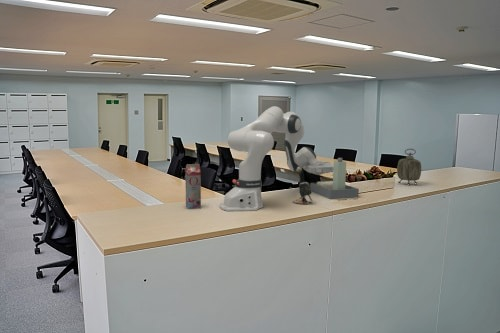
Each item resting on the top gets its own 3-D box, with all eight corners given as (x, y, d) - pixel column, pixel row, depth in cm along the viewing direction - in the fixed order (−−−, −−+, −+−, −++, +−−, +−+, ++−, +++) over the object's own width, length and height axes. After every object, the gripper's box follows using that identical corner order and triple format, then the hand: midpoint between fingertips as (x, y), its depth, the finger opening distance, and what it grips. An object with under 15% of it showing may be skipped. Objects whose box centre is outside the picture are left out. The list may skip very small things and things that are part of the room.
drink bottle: (337, 197, 221) (338, 158, 218) (332, 195, 225) (333, 157, 222) (344, 196, 222) (346, 158, 219) (340, 195, 227) (341, 157, 224)
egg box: (322, 194, 229) (322, 183, 229) (316, 191, 237) (316, 181, 236) (340, 192, 233) (340, 183, 232) (333, 190, 241) (333, 180, 240)
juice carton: (200, 208, 195) (200, 164, 192) (187, 209, 193) (187, 165, 190) (198, 205, 201) (198, 163, 199) (185, 206, 200) (185, 163, 197)
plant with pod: (304, 206, 202) (305, 168, 200) (290, 202, 212) (291, 165, 209) (315, 204, 207) (317, 167, 204) (301, 200, 216) (302, 165, 213)
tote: (330, 201, 215) (330, 190, 215) (310, 192, 238) (310, 183, 237) (358, 199, 221) (358, 188, 220) (336, 191, 244) (336, 181, 243)
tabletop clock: (418, 184, 272) (420, 148, 269) (420, 186, 264) (423, 149, 260) (396, 183, 276) (398, 147, 272) (398, 185, 267) (400, 149, 264)
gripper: (303, 163, 243) (313, 166, 230) (332, 162, 249) (343, 164, 236) (302, 173, 244) (313, 176, 231) (331, 172, 250) (343, 175, 237)
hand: (329, 170), depth 233 cm, fingers open, 8 cm apart
